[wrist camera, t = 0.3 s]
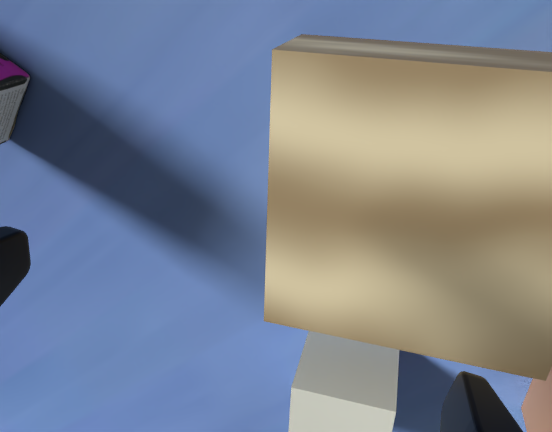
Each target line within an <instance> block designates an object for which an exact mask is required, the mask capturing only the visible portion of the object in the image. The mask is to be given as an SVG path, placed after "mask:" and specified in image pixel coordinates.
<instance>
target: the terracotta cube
mask: <svg viewBox="0 0 552 432" xmlns="http://www.w3.org/2000/svg"><path fill="white" fill-rule="evenodd" d="M521 409H522V413H523V417H524V421H525V425H526V430H527V432H552V367H551V370H550V372H549V374H548V377H547V379H546V381H544V380H539V379H534V378H533V379H532V382H531V384H530V387H529V389H528V392H527V394H526V397H525V399H524V402H523V404H522V407H521Z"/></svg>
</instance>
